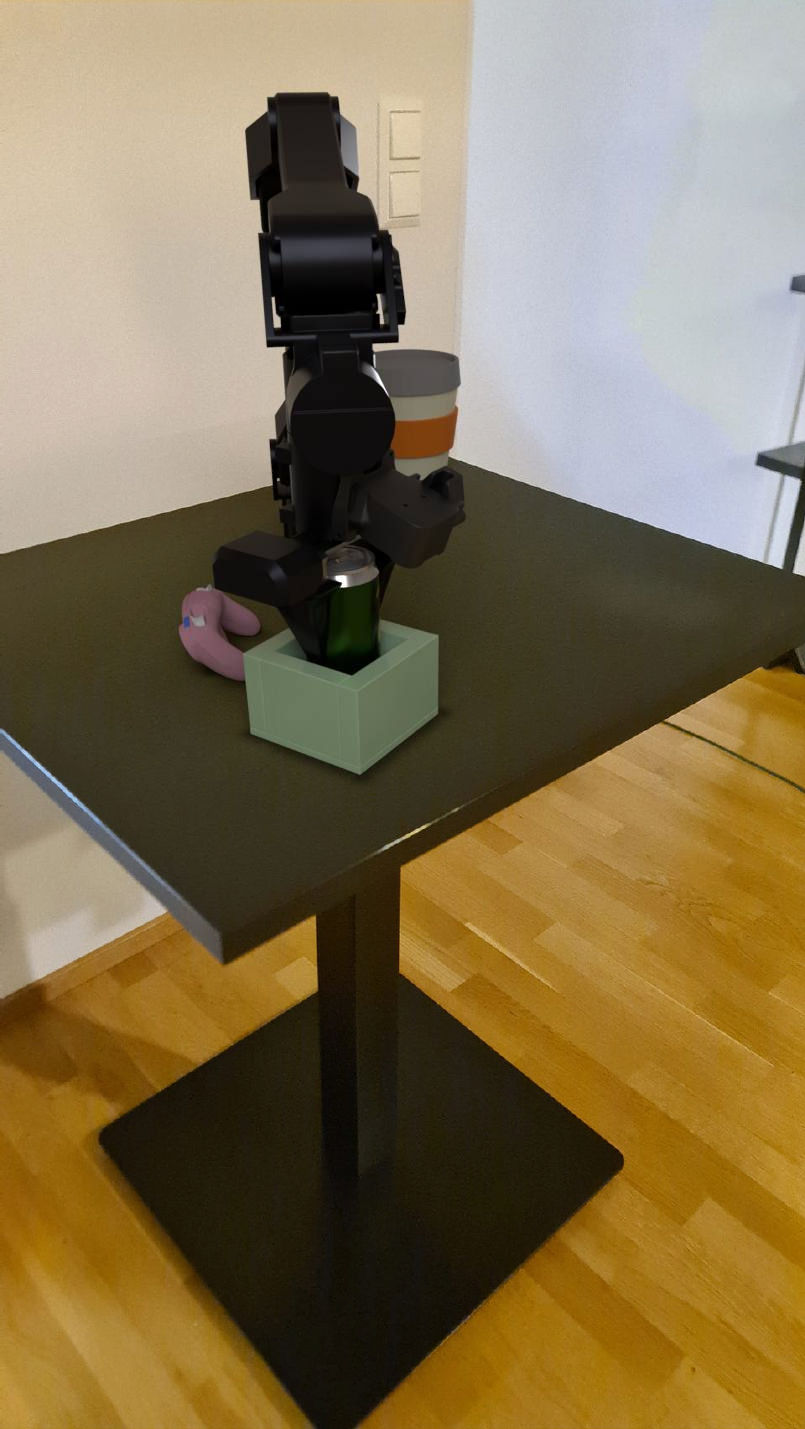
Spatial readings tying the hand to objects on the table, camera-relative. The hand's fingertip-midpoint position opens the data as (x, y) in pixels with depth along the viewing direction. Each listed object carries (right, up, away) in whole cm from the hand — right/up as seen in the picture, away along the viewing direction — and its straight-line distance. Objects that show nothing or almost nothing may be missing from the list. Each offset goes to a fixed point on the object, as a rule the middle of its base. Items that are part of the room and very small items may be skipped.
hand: (341, 647), depth 73 cm
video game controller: (-11, 0, +13) cm, 17 cm away
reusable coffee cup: (+5, +23, +52) cm, 58 cm away
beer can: (0, -5, +3) cm, 5 cm away
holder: (0, -5, +3) cm, 6 cm away
